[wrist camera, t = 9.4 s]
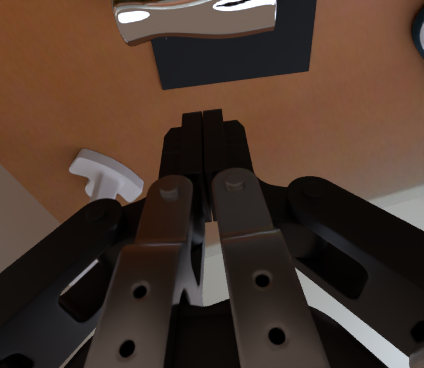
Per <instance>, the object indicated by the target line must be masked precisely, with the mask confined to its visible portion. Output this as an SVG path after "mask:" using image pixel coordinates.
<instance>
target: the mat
mask: <svg viewBox="0 0 424 368" xmlns="http://www.w3.org/2000/svg"><path fill="white" fill-rule="evenodd" d="M316 1H317V0H277V6H276V21H275V28H274V31H273V32H269V33H264V34H259V35H255V36H250V37H245V38H238V39H231V40H193V39H180V38H164V39H157V40H152V41H151V43H152V47H153V51H154V55H155V60H156V64H157V68H158V72H159V76H160V80H161V85H162V89H163V90H167V89H174V88H182V87H190V86H198V85H205V84H213V83H221V82H228V81H236V80H244V79H251V78H259V77H267V76H274V75H282V74H290V73H298V72H305V71H309V63H310V54H311V45H312V36H313V28H314V19H315V10H316Z"/></svg>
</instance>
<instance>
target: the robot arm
mask: <svg viewBox="0 0 424 368" xmlns="http://www.w3.org/2000/svg"><path fill="white" fill-rule="evenodd" d="M211 209H212V215H213V220H214V221H217V223H218V229H219V235H220V242H221V248H222V254H223V260H224V266H225V273H226V279H227V284H228V290H229V297H230V299H227V300H225V301H221V302H219V303H216V304H213V305H211V306H205V307H204V306H203V297H202V288H203V287H202V286H203V273H204V257H205V237H204V236H205V223H206V222H212V216H211ZM96 259H97V260H98V262H97V263H96V264H95V265H94V266H93V267H92V268H91V269H90V270H89V271H88V272H87V273H85V274H84V275H83V276H82V277H81V278H80V279H79V280H78V281H77V282H76V283H75V284H74V285H73V286H72V287H71V288H70V289H69V290H68V291H67V292H65V293H64V294H63V295H61V296H60V294H61V293H62V291H63V290H64V289H65V288H66V287H67V286H68V285H69V284H70V283H71V282H72V281H73V280H74V279H76V278H77V277H78V276H79V275H80V274H81V273H82V272H83V271H84V270H85V269H86V268H87V267H88V266H89V265H90V264H92V263H93V262H94V261H95V260H96ZM295 268H297V269H298V270H299V271H300V272H302V273H303V274H304V275H305V276H307V277H308V278H309V279H310V280H312V281H313V282H314V283H316V284H317V285H318V286H319V287H321V288H322V289H323V290H324V291H326V292H327V293H328V294H329V295H331V296H332V297H333V298H335V299H336V300H337V301H338V302H340V303H341V304H342V305H343V306H345V307H346V308H347V309H349V310H350V311H351V312H352V313H353V314H355V315H356V316H357V317H358V318H360V319H361V320H362V321H363V322H365V323H366V324H368V325H369V326H370V327H371V328H372V329H374V330H375V331H376V332H377V333H379V334H380V335H381V336H382V337H384V338H385V339H386V340H387V341H389V342H390V343H391V344H393V345H394V346H395V347H396V348H398V349H399V350H400V351H401V352H403V353H404V354H405V355H406V356H408V357H409V366H410V368H424V231H423V230H421V229H419V228H417V227H415V226H413V225H411V224H409V223H407V222H406V221H404V220H402V219H400V218H398V217H396V216H394V215H392V214H390V213H388V212H386V211H385V210H383V209H381V208H379V207H377V206H375V205H373V204H371V203H370V202H368V201H366V200H364V199H362V198H360V197H358V196H356V195H354V194H352V193H351V192H349V191H347V190H345V189H343V188H341V187H339V186H337V185H335V184H333V183H332V182H330V181H328V180H326V179H323V178H320V177H315V176H305V177H300V178H297V179H295V180H294V181H292V182H291V183H290V184H289V186H288V187H282V186H275V185H270V184H267V183H265V182H263V181H261V180H260V179H259V178H258V177H257V176H256V175H255V173H254V171H253V167H252V162H251V157H250V153H249V148H248V144H247V139H246V134H245V129H244V126H243V125H242V124H241V123H240V122H238V121H237V120H232V121H224V122H223V115H222V109H214V110H206V111H203V115H202V111H199V112H191V113H183V115H182V127H176V128H171V129H170V130H169V131H168V133H167V134H166V135H165V136H164V143H163V150H162V157H161V164H160V171H159V178H158V180H156V181H155V182H154V183H153V184H152V185H151V186H150V188H149V190H148V192H147V196H146V197H145V198H143V199H141V200H139V201H137V202H134V203H131V204H128V205H126V206H123V207H122V206H121V204H120V203H119V202H118V201H117V200H115V199H111V198H102V199H98V200H95V201H92V202H90V203H89V204H87V205H86V206H84V207H83V208H82V209H80V210H79V211H78V212H77V213H75V214H74V215H73V216H71V217H70V218H69V219H68V220H66V221H65V222H64V223H63V224H61V225H60V226H59V227H58V228H56V229H55V230H54V231H53V232H51V233H50V234H49V235H48V236H46V237H45V238H44V239H43V240H41V241H40V242H39V243H38V244H36V245H35V246H34V247H33V248H31V249H30V250H29V251H27V252H26V253H25V254H24V255H22V256H21V257H20V258H19V259H17V260H16V261H15V262H14V263H13V264H11V265H10V266H9V267H7V268H6V269H5V270H4V271H2V272H1V273H0V368H59V367H60V366H61V365H62V364H63V363H64V361H65V360H66V359H67V358H68V357H69V356H70V355H71V354H72V353H73V352H74V350H75V349H76V348H77V347H78V346H79V345H80V344H81V343H82V342H83V341H84V339H85V338H86V337H87V336H88V335H89V334H90V333H91V332H92V331H93V330H94V329H95V327H96V330H95V333H94V335H93V336H92V337H91V338H90V339H89V340H88V341H87V342H86V343H85V344H84V345H83V346H82V347H81V348H80V349H79V350H78V352H77V353H76V354H75V355H74V356H73V358H72V359H71V360H70V361H69V362H68V363H67V364H66V366H65V367H64V368H388V367H387V366H386V365H385V364H384V363H383V362H382V361H381V360H379V359H378V358H377V357H376V356H375V355H374V354H373V353H372V352H370V351H369V350H368V349H367V348H366V347H365V346H364V345H363V344H361V343H360V342H359V341H358V340H357V339H356V338H354V336H352V335H351V334H350V333H349V332H348V331H347V330H346V329H345V328H343V327H342V326H341V325H340V324H339V323H338V322H336V321H335V320H334V319H332V318H331V317H329V316H328V315H326V314H325V313H323V312H321V311H319V310H318V309H316V308H313V307H311V306H309V305H308V304H307V301H306V298H305V295H304V292H303V289H302V287H301V284H300V281H299V279H298V276H297V273H296V270H295Z"/></svg>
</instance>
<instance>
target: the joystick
mask: <svg viewBox="0 0 424 368" xmlns="http://www.w3.org/2000/svg"><path fill="white" fill-rule="evenodd" d="M69 171H70V172H71V173H73V174H77V175H81V176H85V177H87V178H89V180H88V182H87V185H86V187H85V191H86V193H87V194H88V195H89V196H90V197H91V199H90V202H92V201H95V200H98V199H102V198H111V199H115V198H116V195H117V193H118V194H120V195H121V196H122V197H123V198H124V199H125V200H126V201H128V202H133V201H134V200H135V199H136V198H137V197H138V196H139V195H140V194H141V193H142V189H143V184H144V182H143V181H142V180H141V179H140V178H139V177H138V176H137V175H136V174H135V173H134V172H133V171H131V170H130V169H129V168H127V167H126V166H124V165H123V164H121V163H119V162H117V161H116V160H114V159H112V158H110V157H107V156H105V155H103V154H100V153H98V152H95V151H92V150H88V149H81V150H80V152H79V153H78V155H77V157H76V158H75V160H73V162H72V164H71V166H70V168H69ZM90 202H89V203H90ZM97 262H98V260H97V259H96V260H95V261H94V262H93V263H92V264H90V265H89V266H88V267H87V268H86V269H85V270H84V271H83V272H82V273H81V274H80V275H79V276H78V277H77V278H76V279H74V280H73V281H72V282H71V283H70V284H69V285H70V286H73V285H74V284H75V283H76V282H77V281H78V280H79V279H80V278H81V277H82V276H83V275H84V274H85V273H87V272H88V271H89V270H90V269H91V268H92V267H93V266H94V265H95V264H96V263H97Z"/></svg>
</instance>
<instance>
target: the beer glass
mask: <svg viewBox="0 0 424 368" xmlns="http://www.w3.org/2000/svg"><path fill="white" fill-rule="evenodd" d="M111 3H112V9H113V14H114V18H115V21H116V24H117V27H118V30H119V32H120V35H121V37H122V38H123V40H124V42H125V43H126V44H127V45H128V46H130V47H133V46H137V45H140V44H143V43H146V42H149V41H152V40H157V39H164V38H180V39H193V40H231V39H238V38H245V37H250V36H255V35H259V34H264V33H269V32H273V31H274V28H275V21H276V6H277V0H111Z"/></svg>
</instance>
